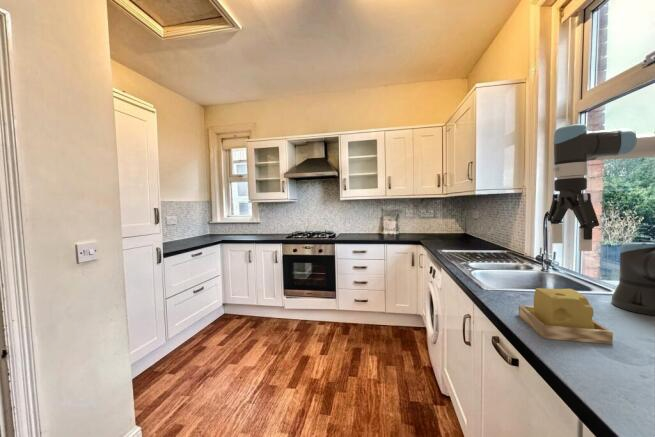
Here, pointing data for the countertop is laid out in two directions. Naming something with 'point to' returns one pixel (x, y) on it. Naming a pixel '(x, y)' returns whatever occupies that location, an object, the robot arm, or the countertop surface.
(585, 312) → the cheese
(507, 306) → the countertop surface
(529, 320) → the wooden tray
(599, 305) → the countertop surface
